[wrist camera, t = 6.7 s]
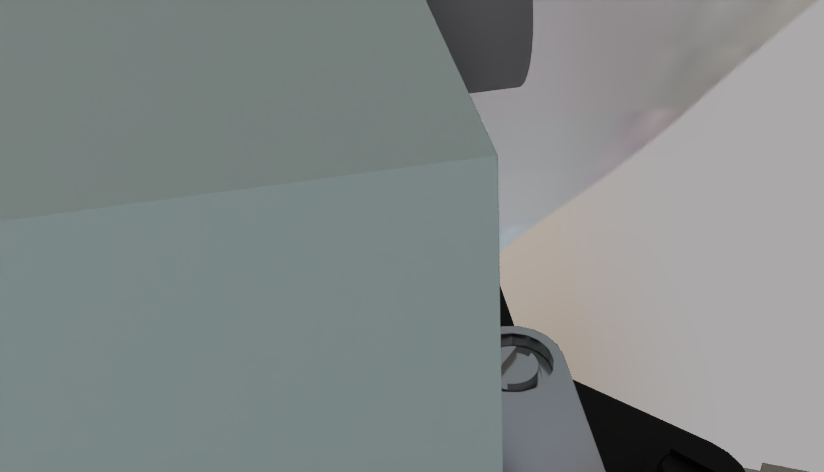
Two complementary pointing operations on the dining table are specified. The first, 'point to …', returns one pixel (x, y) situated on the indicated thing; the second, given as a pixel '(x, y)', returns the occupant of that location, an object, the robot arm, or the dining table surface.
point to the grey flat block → (251, 234)
